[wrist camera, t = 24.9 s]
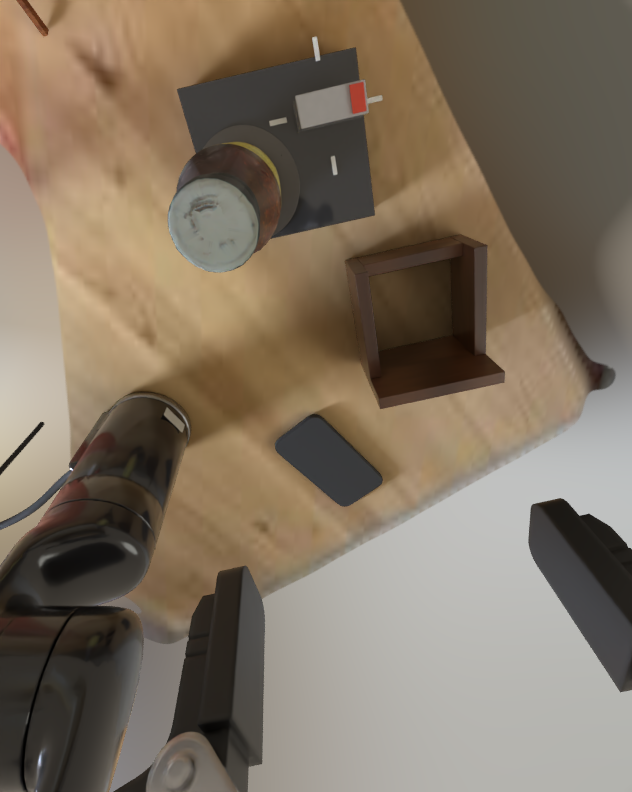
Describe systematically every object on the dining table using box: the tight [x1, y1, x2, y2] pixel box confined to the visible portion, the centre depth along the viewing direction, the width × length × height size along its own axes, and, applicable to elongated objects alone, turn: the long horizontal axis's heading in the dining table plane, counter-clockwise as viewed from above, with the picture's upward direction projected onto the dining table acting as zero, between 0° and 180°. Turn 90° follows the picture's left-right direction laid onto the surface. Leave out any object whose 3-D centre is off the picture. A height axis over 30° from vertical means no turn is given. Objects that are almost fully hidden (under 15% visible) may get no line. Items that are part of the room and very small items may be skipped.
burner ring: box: [202, 125, 300, 236], centre depth 35 cm, size 9×9×1 cm
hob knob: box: [293, 79, 369, 132], centre depth 31 cm, size 5×2×5 cm, turn 101°
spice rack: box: [345, 235, 505, 409], centre depth 41 cm, size 12×12×10 cm
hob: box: [177, 37, 382, 239], centre depth 35 cm, size 16×13×3 cm
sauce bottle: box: [168, 142, 281, 272], centre depth 27 cm, size 6×6×20 cm
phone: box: [275, 414, 383, 507], centre depth 54 cm, size 7×1×15 cm
